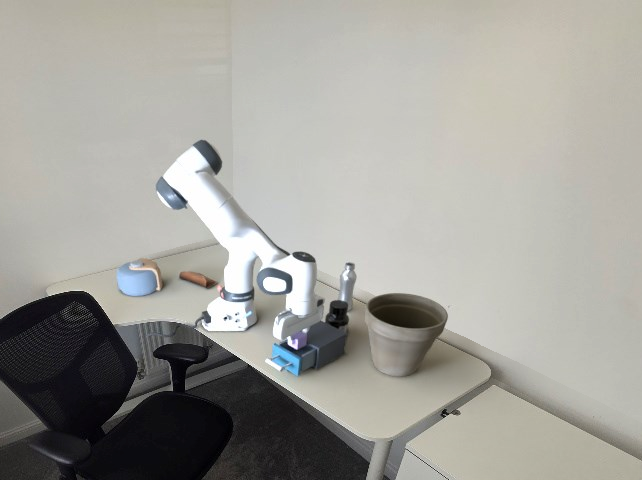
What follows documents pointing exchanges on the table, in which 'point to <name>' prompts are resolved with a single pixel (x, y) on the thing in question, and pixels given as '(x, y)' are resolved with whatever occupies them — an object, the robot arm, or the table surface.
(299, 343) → the purple cube
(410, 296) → the flower pot
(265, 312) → the table surface
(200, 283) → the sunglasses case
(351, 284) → the silver metal bottle
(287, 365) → the blue drawer
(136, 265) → the blue kettle
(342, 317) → the ink bottle
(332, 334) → the drawer cabinet
